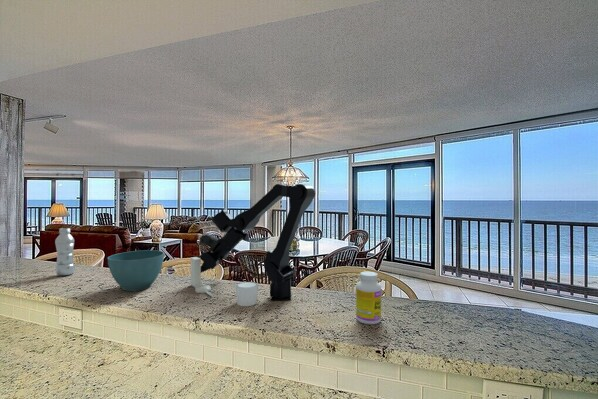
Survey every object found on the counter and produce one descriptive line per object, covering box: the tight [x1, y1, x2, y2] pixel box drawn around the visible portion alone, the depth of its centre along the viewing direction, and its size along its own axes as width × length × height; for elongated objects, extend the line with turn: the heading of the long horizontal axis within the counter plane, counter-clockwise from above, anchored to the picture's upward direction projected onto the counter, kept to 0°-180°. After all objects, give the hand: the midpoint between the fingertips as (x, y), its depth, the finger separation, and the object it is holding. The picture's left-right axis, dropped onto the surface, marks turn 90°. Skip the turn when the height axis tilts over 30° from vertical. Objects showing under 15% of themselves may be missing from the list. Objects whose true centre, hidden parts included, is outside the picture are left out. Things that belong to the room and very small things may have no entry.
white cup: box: [235, 281, 259, 309], centre depth 90 cm, size 7×7×7 cm
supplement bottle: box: [355, 271, 382, 325], centre depth 81 cm, size 7×7×13 cm
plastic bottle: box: [54, 227, 76, 277], centre depth 126 cm, size 6×7×20 cm
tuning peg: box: [190, 256, 214, 298], centre depth 102 cm, size 5×17×10 cm, turn 39°
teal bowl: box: [107, 249, 165, 292], centre depth 109 cm, size 18×18×12 cm
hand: (199, 272), depth 108 cm, fingers closed
